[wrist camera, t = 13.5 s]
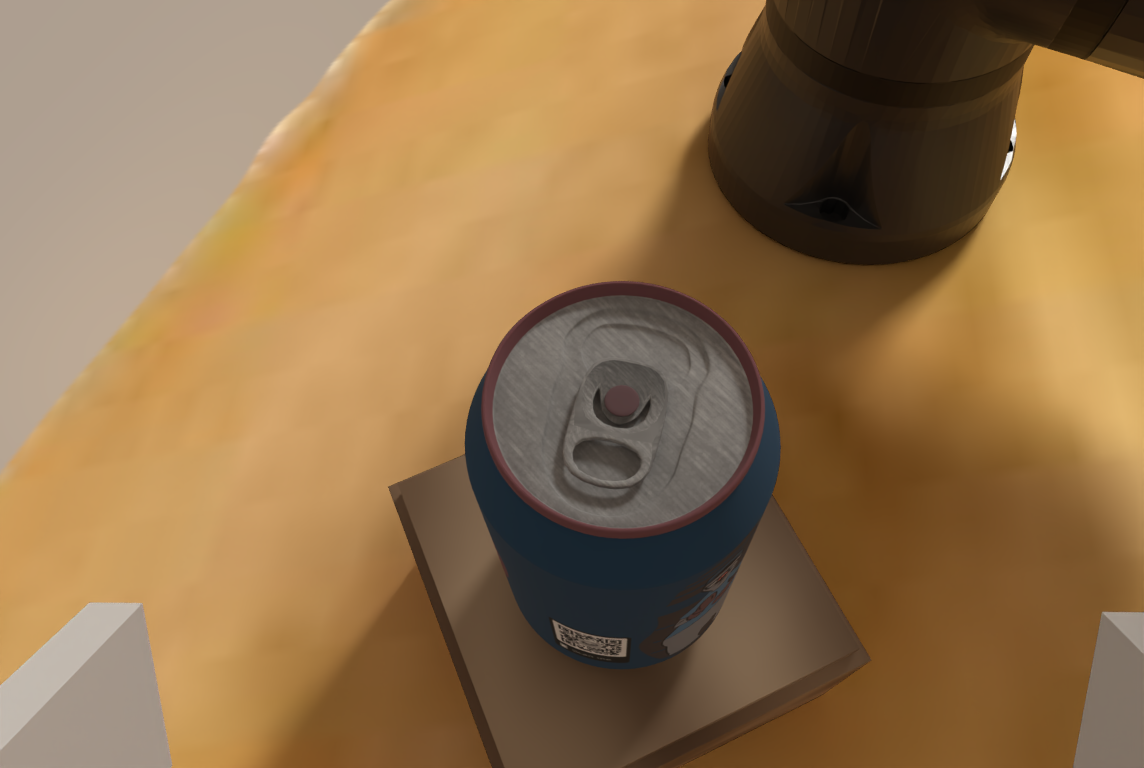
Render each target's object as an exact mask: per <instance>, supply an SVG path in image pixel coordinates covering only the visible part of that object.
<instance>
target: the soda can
mask: <svg viewBox="0 0 1144 768" xmlns="http://www.w3.org/2000/svg"><path fill="white" fill-rule="evenodd" d="M780 449H781V446H780V432H779V424H778V420H777V415H776V411H775V408H774V405H773V402H772V399H771V397H770V394H769V392H768V390H767V388H766V386H765V384H764V382H763V380H762V378H761V377H760V374H759V371H758V368H757V366H756V363H755V361H754V359H753V357H752V355H751V353H750V351H749V350H748V348H747V346H746V345H745V343H744V342H743V340H742V339H741V338H740V336H739V335H738V334H737V333H736V332H735V330H734V329H733V328H732V327H731V326H730V325H729V324H728V323H727V322H726V321H725V320H724V319H723V318H722V317H720V316H719V315H718V314H717V313H716V312H714V311H713V310H712V309H710V308H709V307H707V306H706V305H704V304H703V303H701V302H699V301H697V300H696V299H694V298H692V297H690V296H688V295H685V294H683V293H681V292H678V291H675V290H673V289H669V288H666V287H663V286H659V285H654V284H649V283H642V282H631V281H613V282H602V283H596V284H590V285H586V286H582V287H578V288H575V289H572V290H569V291H567V292H564V293H562V294H559V295H557V296H555V297H553V298H551V299H549V300H547V301H545V302H544V303H542V304H541V305H539V306H537V307H536V308H534V309H533V310H532V311H530V312H529V313H528V314H526V315H525V316H524V317H523V318H522V319H520V320H519V321H518V322H517V323H516V324H515V325H514V326H513V327H512V328H511V330H510V331H509V332H508V333H507V334H506V336H505V337H504V338H503V340H502V341H501V343H500V344H499V346H498V348H497V350H496V351H495V353H494V355H493V358H492V360H491V362H490V365H489V367H488V369H487V371H486V373H485V374H484V376H483V378H482V379H481V382H480V384H479V386H478V388H477V390H476V392H475V395H474V397H473V400H472V403H471V407H470V410H469V414H468V419H467V425H466V432H465V458H466V466H467V471H468V476H469V480H470V483H471V486H472V489H473V492H474V495H475V497H476V500H477V502H478V505H479V507H480V510H481V513H482V515H483V518H484V520H485V523H486V525H487V528H488V531H489V533H490V536H491V538H492V541H493V543H494V546H495V549H496V551H497V554H498V556H499V559H500V561H501V564H502V566H503V569H504V572H505V574H506V577H507V579H508V582H509V584H510V587H511V590H512V592H513V595H514V597H515V600H516V602H517V604H518V606H519V608H520V610H521V612H522V614H523V615H524V617H525V619H526V620H527V621H528V623H529V624H530V626H531V627H532V628H533V629H534V630H535V631H536V633H537V634H538V635H539V636H540V637H541V638H542V639H544V640H545V641H546V642H547V643H548V644H549V645H551V646H552V647H553V648H555V649H556V650H558V651H559V652H561V653H563V654H564V655H566V656H568V657H570V658H572V659H574V660H577V661H579V662H582V663H585V664H588V665H591V666H596V667H600V668H607V669H635V668H641V667H647V666H650V665H654V664H657V663H660V662H663V661H665V660H667V659H670V658H672V657H674V656H675V655H677V654H679V653H681V652H682V651H684V650H685V649H687V648H688V647H689V646H691V645H692V644H693V643H694V642H696V641H697V640H698V639H699V638H700V637H701V636H702V635H703V634H704V633H705V631H706V630H707V629H708V628H709V627H710V625H711V624H712V623H713V621H714V620H715V618H716V616H717V615H718V613H719V611H720V609H721V607H722V605H723V603H724V601H725V598H726V596H727V594H728V592H729V589H730V587H731V585H732V583H733V581H734V578H735V576H736V574H737V572H738V569H739V567H740V565H741V563H742V561H743V558H744V556H745V554H746V552H747V549H748V547H749V545H750V543H751V540H752V538H753V536H754V534H755V532H756V529H757V527H758V525H759V523H760V520H761V518H762V516H763V514H764V511H765V509H766V507H767V505H768V502H769V500H770V498H771V495H772V493H773V490H774V487H775V483H776V480H777V475H778V471H779V463H780Z"/></svg>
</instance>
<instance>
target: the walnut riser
mask: <svg viewBox="0 0 1144 768" xmlns="http://www.w3.org/2000/svg"><path fill="white" fill-rule="evenodd" d="M388 488H389V491H390V493H391V496H392V499H393V501H394V504H395V507H396V509H397V512H398V515H399V517H400V520H401V523H402V526H403V528H404V531H405V534H406V536H407V539H408V542H409V544H410V547H411V550H412V553H413V555H414V558H415V561H416V563H417V566H418V569H419V571H420V574H421V577H422V580H423V582H424V585H425V588H426V590H427V593H428V596H429V598H430V601H431V604H432V607H433V609H434V612H435V615H436V617H437V620H438V623H439V625H440V628H441V631H442V633H443V636H444V639H445V642H446V644H447V647H448V650H449V652H450V655H451V658H452V660H453V663H454V666H455V669H456V671H457V674H458V677H459V679H460V682H461V685H462V687H463V690H464V693H465V696H466V698H467V701H468V704H469V706H470V709H471V712H472V714H473V717H474V720H475V722H476V725H477V728H478V731H479V733H480V736H481V739H482V741H483V744H484V747H485V749H486V752H487V755H488V758H489V760H490V763H491V766H492V768H678V767H680V766H682V765H684V764H686V763H688V762H690V761H692V760H694V759H696V758H698V757H700V756H702V755H704V754H706V753H708V752H710V751H712V750H714V749H716V748H718V747H720V746H722V745H724V744H726V743H728V742H730V741H732V740H734V739H736V738H738V737H740V736H742V735H743V734H745V733H747V732H749V731H751V730H753V729H755V728H757V727H759V726H761V725H763V724H765V723H767V722H769V721H771V720H773V719H775V718H777V717H779V716H781V715H783V714H785V713H787V712H789V711H791V710H793V709H795V708H797V707H799V706H801V705H803V704H805V703H807V702H809V701H811V700H813V699H815V698H817V697H819V696H821V695H823V694H824V693H826V692H827V691H828V690H830V689H831V688H833V687H834V686H835V685H837V684H838V683H840V682H841V681H843V680H844V679H845V678H847V677H848V676H850V675H851V674H853V673H854V672H855V671H857V670H858V669H860V668H861V667H862V666H864V665H865V664H867V663H868V662H870V661H871V659H870V657H869V655H868V654H867V652H866V650H865V649H864V647H863V645H862V644H861V642H860V640H859V639H858V637H857V635H856V634H855V632H854V630H853V629H852V627H851V625H850V624H849V622H848V620H847V619H846V617H845V615H844V614H843V612H842V610H841V608H840V607H839V605H838V603H837V602H836V600H835V598H834V597H833V595H832V593H831V592H830V590H829V588H828V587H827V585H826V583H825V582H824V580H823V578H822V577H821V575H820V573H819V572H818V570H817V568H816V567H815V565H814V563H813V562H812V560H811V558H810V557H809V555H808V553H807V552H806V550H805V548H804V547H803V545H802V543H801V542H800V540H799V538H798V537H797V535H796V533H795V532H794V530H793V528H792V527H791V525H790V523H789V522H788V520H787V518H786V517H785V515H784V513H783V512H782V510H781V508H780V507H779V505H778V503H777V502H776V500H775V498H774V496H773V495H771V498H770V500H769V502H768V505H767V507H766V509H765V511H764V514H763V516H762V518H761V520H760V523H759V525H758V527H757V529H756V532H755V534H754V536H753V538H752V540H751V543H750V545H749V547H748V549H747V552H746V554H745V556H744V558H743V561H742V563H741V565H740V567H739V569H738V572H737V574H736V576H735V578H734V581H733V583H732V585H731V587H730V589H729V592H728V594H727V596H726V598H725V601H724V603H723V605H722V607H721V609H720V611H719V613H718V615H717V616H716V618H715V620H714V621H713V623H712V624H711V625H710V627H709V628H708V629H707V630H706V631H705V633H704V634H703V635H702V636H701V637H700V638H699V639H698V640H697V641H696V642H694V643H693V644H692V645H691V646H689V647H688V648H687V649H685V650H684V651H682V652H681V653H679V654H677V655H675V656H674V657H672V658H670V659H667V660H665V661H663V662H660V663H657V664H654V665H650V666H647V667H641V668H635V669H607V668H600V667H596V666H591V665H588V664H585V663H582V662H579V661H577V660H574V659H572V658H570V657H568V656H566V655H564V654H563V653H561V652H559V651H558V650H556V649H555V648H553V647H552V646H551V645H549V644H548V643H547V642H546V641H545V640H544V639H542V638H541V637H540V636H539V635H538V634H537V633H536V631H535V630H534V629H533V628H532V627H531V626H530V624H529V623H528V621H527V620H526V619H525V617H524V615H523V614H522V612H521V610H520V608H519V606H518V604H517V602H516V600H515V597H514V595H513V592H512V590H511V587H510V584H509V582H508V579H507V577H506V574H505V572H504V569H503V566H502V564H501V561H500V559H499V556H498V554H497V551H496V549H495V546H494V543H493V541H492V538H491V536H490V533H489V531H488V528H487V525H486V523H485V520H484V518H483V515H482V513H481V510H480V507H479V505H478V502H477V500H476V497H475V495H474V492H473V489H472V486H471V483H470V480H469V476H468V471H467V466H466V458H465V455H462V456H460V457H457V458H455V459H453V460H450V461H448V462H446V463H443V464H441V465H439V466H436V467H434V468H431V469H429V470H427V471H424V472H422V473H420V474H417V475H415V476H412V477H410V478H408V479H405V480H403V481H401V482H398V483H396V484H393V485H391V486H389V487H388Z"/></svg>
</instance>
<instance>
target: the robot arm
mask: <svg viewBox="0 0 1144 768" xmlns="http://www.w3.org/2000/svg"><path fill="white" fill-rule="evenodd" d="M1034 45H1038V46H1041V47H1044V48H1048V49H1051V50H1055V51H1058V52H1061V53H1065V54H1068V55H1071V56H1075V57H1078V58H1081V59H1084V60H1087V61H1091V62H1094V63H1097V64H1100V65H1103V66H1106V67H1109V68H1112V69H1115V70H1118V71H1121V72H1125V73H1128V74H1131V75H1134V76H1137V77H1140V78H1143V79H1144V0H766V5H765V7H764V9H763V10H762V12H761V13H760V15H759V17H758V18H757V20H756V22H755V24H754V25H753V27H752V29H751V31H750V33H749V35H748V36H747V38H746V41H745V43H744V45H743V49H742V51H741V52H740V53H739V54H738V55H737V56H736V58H735V59H734V60H733V62H732V63H731V65H730V66H729V68H728V69H727V71H726V73H725V74H724V76H723V78H722V80H721V82H720V84H719V87H718V89H717V92H716V96H715V99H714V103H713V108H712V115H711V122H710V130H709V139H708V151H709V158H710V163H711V167H712V170H713V173H714V176H715V178H716V181H717V183H718V185H719V187H720V189H721V190H722V192H723V193H724V195H725V197H726V198H727V199H728V201H729V202H730V203H731V205H732V206H733V207H734V208H735V209H736V210H737V211H738V212H739V213H740V214H741V215H742V216H743V217H744V218H745V219H746V220H747V221H748V222H749V223H751V224H752V225H753V226H754V227H756V228H757V229H758V230H760V231H761V232H762V233H764V234H766V235H767V236H769V237H770V238H772V239H774V240H776V241H777V242H779V243H781V244H783V245H785V246H787V247H790V248H792V249H794V250H797V251H799V252H802V253H805V254H808V255H811V256H814V257H818V258H822V259H826V260H831V261H835V262H842V263H850V264H869V265H872V264H889V263H897V262H904V261H908V260H913V259H917V258H920V257H924V256H927V255H929V254H932V253H935V252H937V251H939V250H941V249H944V248H946V247H947V246H949V245H951V244H953V243H955V242H956V241H957V240H959V239H960V238H962V237H963V236H964V235H966V234H967V233H968V232H969V231H971V230H972V229H973V228H974V227H975V226H976V225H977V224H978V222H979V221H980V220H981V219H982V218H983V216H984V215H985V213H986V212H987V211H988V209H989V207H990V206H991V204H992V202H993V200H994V199H995V197H996V195H997V194H998V192H999V190H1000V189H1001V187H1002V185H1003V183H1004V181H1005V180H1006V178H1007V175H1008V173H1009V170H1010V167H1011V164H1012V161H1013V158H1014V153H1015V144H1016V121H1015V114H1016V108H1017V102H1018V99H1019V95H1020V89H1021V83H1022V76H1023V68H1024V64H1025V62H1026V60H1027V58H1028V56H1029V54H1030V52H1031V50H1032V48H1033V47H1034ZM171 766H172V761H171V756H170V751H169V745H168V740H167V734H166V729H165V723H164V718H163V712H162V707H161V702H160V696H159V691H158V685H157V680H156V674H155V669H154V663H153V658H152V653H151V647H150V642H149V636H148V631H147V625H146V620H145V614H144V609H143V603H88V604H87V605H86V606H85V607H84V608H83V609H82V610H81V611H80V612H79V613H78V614H77V615H76V616H74V617H73V618H72V619H71V620H70V621H69V622H68V623H67V624H66V625H65V626H64V627H63V628H62V629H61V630H59V631H58V632H57V633H56V634H55V635H54V636H53V637H52V638H51V639H50V640H49V641H48V642H47V643H46V644H44V645H43V646H42V647H41V648H40V649H39V650H38V651H37V652H36V653H35V654H34V655H33V656H32V657H30V658H29V659H28V660H27V661H26V662H25V663H24V664H23V665H22V666H21V667H20V668H19V669H18V670H17V671H15V672H14V673H13V674H12V675H11V676H10V677H9V678H8V679H7V680H6V681H5V682H4V683H3V684H1V685H0V768H171ZM1073 768H1144V612H1102V615H1101V620H1100V625H1099V631H1098V636H1097V641H1096V647H1095V652H1094V657H1093V663H1092V668H1091V674H1090V679H1089V684H1088V690H1087V695H1086V700H1085V706H1084V711H1083V716H1082V722H1081V727H1080V733H1079V738H1078V743H1077V749H1076V754H1075V759H1074V765H1073Z"/></svg>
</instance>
